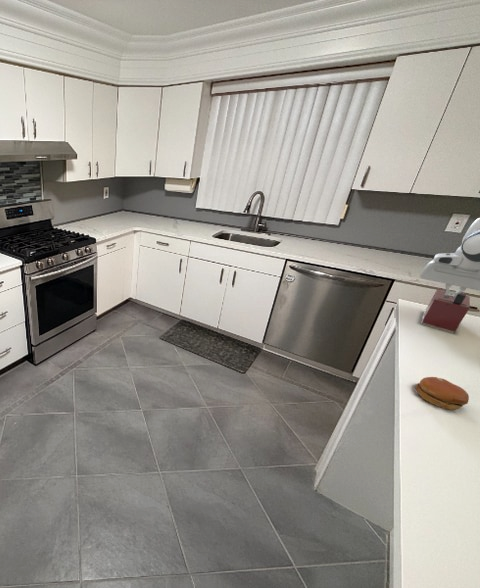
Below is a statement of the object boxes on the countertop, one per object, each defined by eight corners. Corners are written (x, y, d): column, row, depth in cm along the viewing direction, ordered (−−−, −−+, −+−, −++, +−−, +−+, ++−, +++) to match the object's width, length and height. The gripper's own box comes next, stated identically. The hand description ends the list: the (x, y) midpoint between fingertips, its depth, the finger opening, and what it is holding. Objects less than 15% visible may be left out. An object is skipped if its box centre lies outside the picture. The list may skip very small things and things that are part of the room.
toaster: (423, 312, 132) (437, 288, 127) (455, 320, 125) (470, 296, 121) (420, 323, 122) (434, 299, 118) (454, 333, 116) (470, 307, 112)
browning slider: (453, 300, 116) (458, 292, 115) (461, 302, 115) (466, 294, 114) (453, 302, 115) (458, 294, 113) (461, 304, 113) (466, 296, 112)
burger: (433, 409, 81) (442, 395, 79) (405, 385, 90) (412, 372, 88) (475, 413, 80) (485, 399, 78) (442, 388, 89) (450, 375, 87)
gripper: (515, 267, 105) (492, 303, 111) (431, 253, 119) (414, 285, 125) (517, 271, 101) (493, 308, 107) (429, 256, 115) (412, 289, 121)
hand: (450, 296), depth 116 cm, fingers closed
